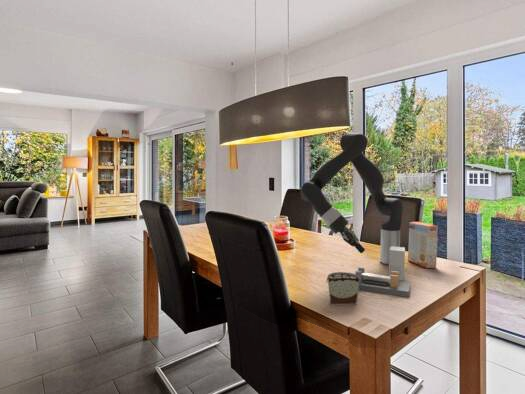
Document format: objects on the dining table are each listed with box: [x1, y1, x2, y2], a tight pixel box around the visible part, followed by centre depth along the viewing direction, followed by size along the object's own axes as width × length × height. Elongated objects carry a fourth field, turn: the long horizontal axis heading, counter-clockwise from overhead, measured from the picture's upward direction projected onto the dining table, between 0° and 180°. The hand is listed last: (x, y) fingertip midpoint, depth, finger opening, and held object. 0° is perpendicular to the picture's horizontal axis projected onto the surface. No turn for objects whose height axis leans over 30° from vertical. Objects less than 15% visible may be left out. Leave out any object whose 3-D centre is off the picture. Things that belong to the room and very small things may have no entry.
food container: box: [326, 271, 361, 306], centre depth 122 cm, size 12×6×10 cm, turn 92°
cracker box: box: [407, 221, 439, 269], centre depth 169 cm, size 14×6×21 cm, turn 13°
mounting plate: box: [355, 266, 411, 298], centre depth 137 cm, size 12×26×6 cm, turn 64°
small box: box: [388, 246, 406, 281], centre depth 149 cm, size 8×6×13 cm
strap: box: [362, 272, 390, 283], centre depth 137 cm, size 4×2×15 cm
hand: (363, 251), depth 139 cm, fingers closed
